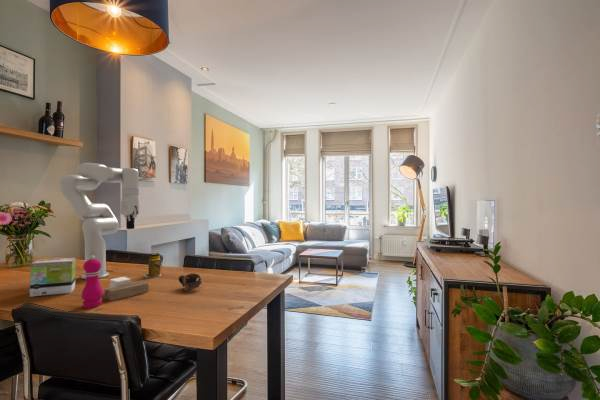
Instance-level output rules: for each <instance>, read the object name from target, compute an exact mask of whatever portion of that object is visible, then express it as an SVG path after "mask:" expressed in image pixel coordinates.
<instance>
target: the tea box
mask: <svg viewBox="0 0 600 400" xmlns="http://www.w3.org/2000/svg"><path fill="white" fill-rule="evenodd" d="M76 265H77V264H76V257H60V258H59V257H56V258H42V259H36V260H34V261H33V262H31V263H30V264H29V298H32V297H39V296H50V295H62V294H71V293H72V292H73V291H74V289H75V288H76V268H77V267H76Z"/></svg>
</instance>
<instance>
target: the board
mask: <svg viewBox="0 0 600 400" xmlns="http://www.w3.org/2000/svg"><path fill="white" fill-rule="evenodd" d="M103 289H104V290H103V296H104V299H106V300H107V301H110V302H111V301H116V300H120V299H124V298H128V297H133V296H136V295H140V294H144V293H148V292H149V282H146V281H144V280H139V281H135V282H134V281H133V282H131V283H129V284H124V285H120V286H115V287H110V286H109V287H106V288H103Z"/></svg>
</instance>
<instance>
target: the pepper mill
mask: <svg viewBox="0 0 600 400" xmlns="http://www.w3.org/2000/svg"><path fill="white" fill-rule="evenodd" d="M100 268H101V262H100V261H99V260H97V259H95V256H93V255H92V256H90V260H88V261H86V262H85V261H84V263H83V270H84V274H85V276H86V279H85V284H84V287H83V289H82V292H81V299H82V301H83V302H82V307H83V308H84V309H92V308H96V307H99V306H101V305H102V303H103V300H102V297H103V296H104V290H103V287H102V285H101V284H100V280H99V279H100V278H98V277H99V274H100V271H99V269H100ZM85 271H86V272H85Z"/></svg>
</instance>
